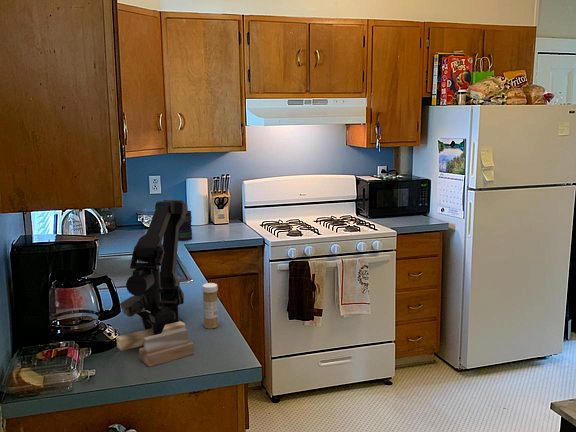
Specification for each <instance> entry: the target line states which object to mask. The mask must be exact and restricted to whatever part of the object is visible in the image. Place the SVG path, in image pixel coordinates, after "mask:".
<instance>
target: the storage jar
mask: <svg viewBox="0 0 576 432" xmlns="http://www.w3.org/2000/svg"><path fill="white" fill-rule="evenodd" d="M192 218H193V217H192V211H191V210H187V214H186V216H185V221H184V222H183V224H182V225H181V226H180V228H179V236H178V242H188V241H192V240H193V230H192Z"/></svg>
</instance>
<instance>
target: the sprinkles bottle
mask: <svg viewBox="0 0 576 432" xmlns="http://www.w3.org/2000/svg"><path fill="white" fill-rule="evenodd" d="M201 290H202V294H203V295H202V296H203V299H202V304H203V307H202V308H203V311H202V312H203V327H204V328H205V329H211V330H213V329H215V328H218V327H219V310H218V309H219V306H218V302H219V301H218V284H217V283H214V282H208V283H204V284H202V288H201Z"/></svg>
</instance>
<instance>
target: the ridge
mask: <svg viewBox="0 0 576 432" xmlns="http://www.w3.org/2000/svg"><path fill="white" fill-rule="evenodd" d="M143 340H144V345H143V347H140V348H138V353H139V354H138V356H139V360H140V361H141V362H142V363H144V364H145V365H146V366H148V367H149V368H151V367H154V366H158V365H160V364H161V365H162V364H164V363H167V362H171V361H174V360H178V359H182V358H185V357H188V356H192V355H195V354H194V353H195V351H194V343H193V342H192V341H190V340H189V330H188V329H187V328H181V329H177V330H173V331H169V332H165V333H161V334H157V335H153V336H149V337H145V338H143Z"/></svg>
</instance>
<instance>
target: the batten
mask: <svg viewBox="0 0 576 432" xmlns="http://www.w3.org/2000/svg"><path fill="white" fill-rule="evenodd" d="M181 328H186V323H184V321H183V322H181V321H179V322H175V323H171V324H167V325H165V327H164V329H163V331H162V333H165V332H169V331H173V330H177V329H181ZM186 329H187V328H186ZM149 336H153V329H152V328H151V329H147V330H145V329H144V330H139V331H135V332H130V333H128V334H127V333H126V334H122V335H118V336H116V347H117V349H118V350H119V351H121V352H122V351H126V350H130V349H134V348H139V347H142V346H144V340H143V338H145V337H149Z"/></svg>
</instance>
